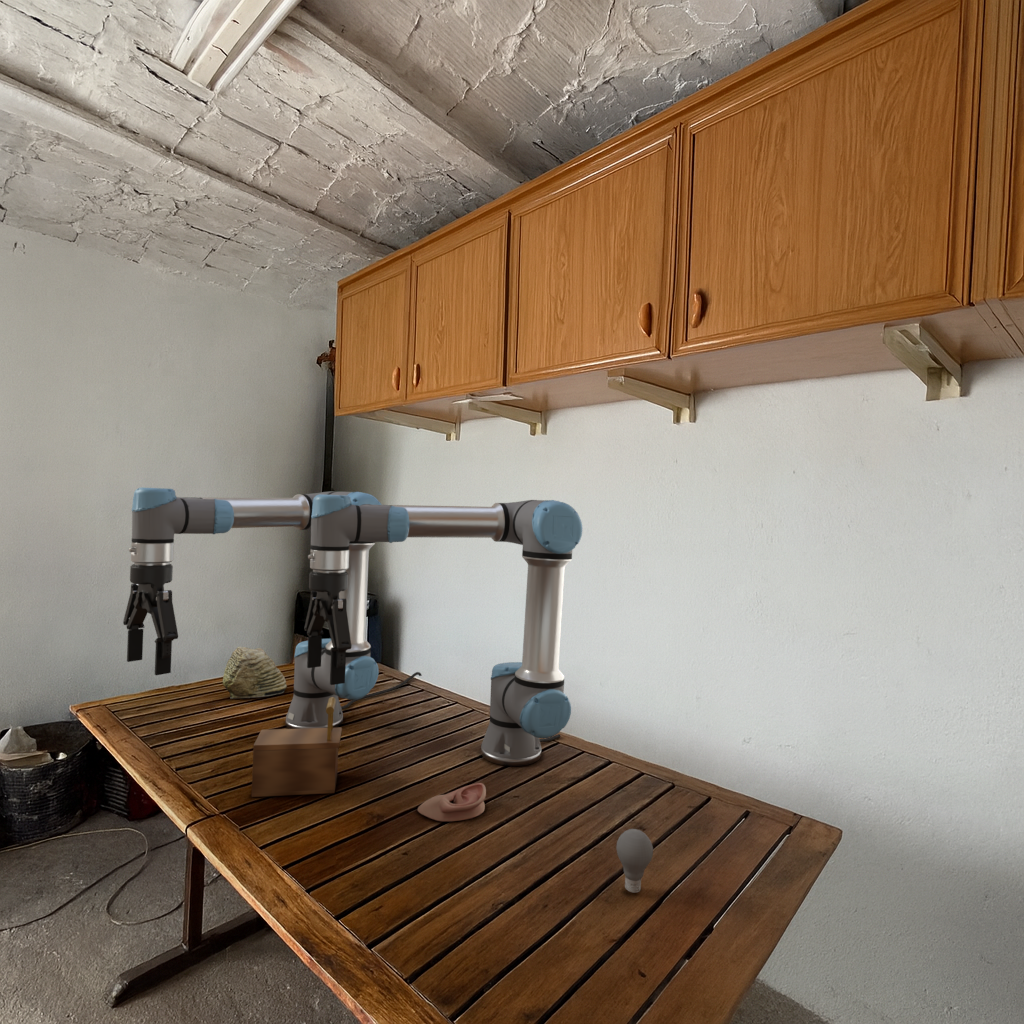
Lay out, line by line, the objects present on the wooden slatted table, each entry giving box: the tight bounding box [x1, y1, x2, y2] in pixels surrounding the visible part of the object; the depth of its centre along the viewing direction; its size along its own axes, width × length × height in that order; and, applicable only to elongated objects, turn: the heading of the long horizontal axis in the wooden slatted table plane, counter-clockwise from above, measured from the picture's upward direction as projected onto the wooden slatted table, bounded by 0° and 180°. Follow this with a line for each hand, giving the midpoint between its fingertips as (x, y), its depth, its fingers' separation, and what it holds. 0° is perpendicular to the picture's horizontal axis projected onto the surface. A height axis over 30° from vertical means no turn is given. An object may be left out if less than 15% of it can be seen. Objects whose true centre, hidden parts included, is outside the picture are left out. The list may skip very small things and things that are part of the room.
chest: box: [251, 748, 339, 798], centre depth 138 cm, size 17×9×10 cm, turn 102°
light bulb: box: [615, 828, 654, 894], centre depth 106 cm, size 6×6×10 cm
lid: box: [252, 697, 343, 752], centre depth 138 cm, size 17×9×8 cm, turn 102°
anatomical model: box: [417, 782, 487, 822], centre depth 131 cm, size 13×4×12 cm
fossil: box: [222, 646, 288, 699], centre depth 198 cm, size 9×18×15 cm, turn 132°
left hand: (148, 667), depth 129 cm, fingers open, 13 cm apart
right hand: (325, 675), depth 128 cm, fingers open, 13 cm apart
